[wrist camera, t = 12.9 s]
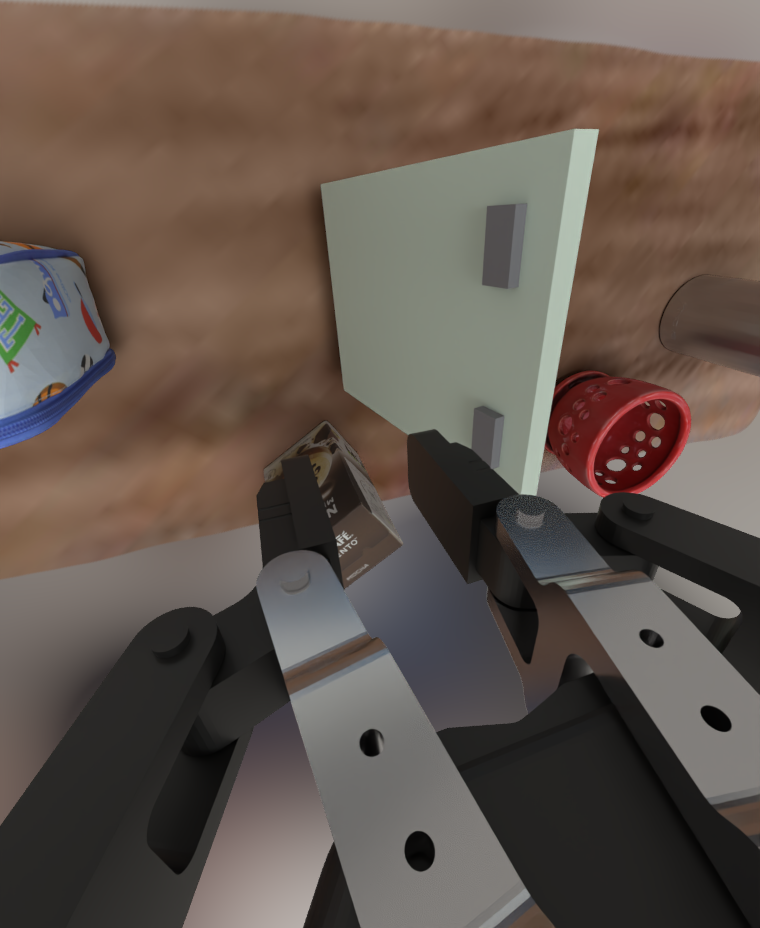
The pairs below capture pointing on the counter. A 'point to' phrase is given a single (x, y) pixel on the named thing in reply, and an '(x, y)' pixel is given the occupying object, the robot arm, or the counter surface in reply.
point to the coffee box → (345, 500)
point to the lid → (462, 291)
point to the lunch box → (45, 338)
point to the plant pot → (615, 430)
